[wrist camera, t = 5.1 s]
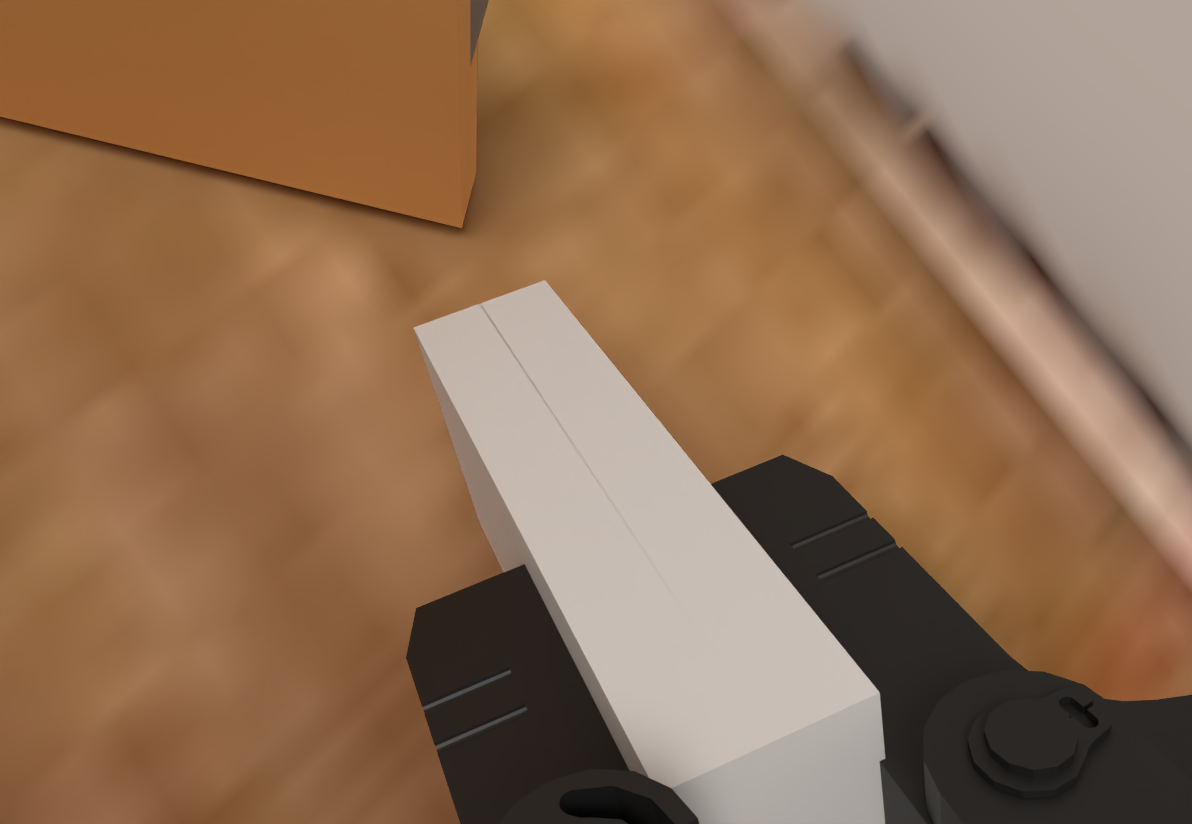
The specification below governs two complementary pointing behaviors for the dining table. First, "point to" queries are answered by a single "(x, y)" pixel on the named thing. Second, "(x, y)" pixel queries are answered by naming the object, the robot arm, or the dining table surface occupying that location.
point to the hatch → (264, 89)
